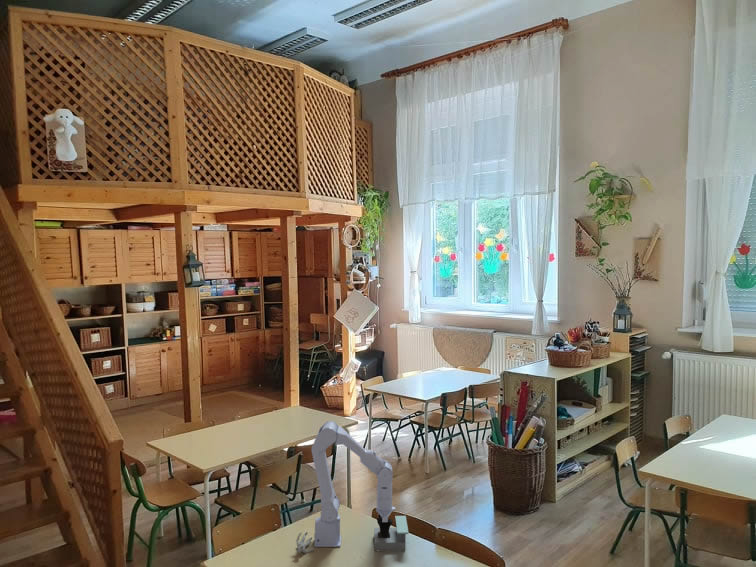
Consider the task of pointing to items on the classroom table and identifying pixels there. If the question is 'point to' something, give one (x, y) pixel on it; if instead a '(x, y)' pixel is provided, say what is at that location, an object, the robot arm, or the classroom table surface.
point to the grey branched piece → (303, 544)
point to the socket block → (392, 536)
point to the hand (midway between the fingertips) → (384, 532)
